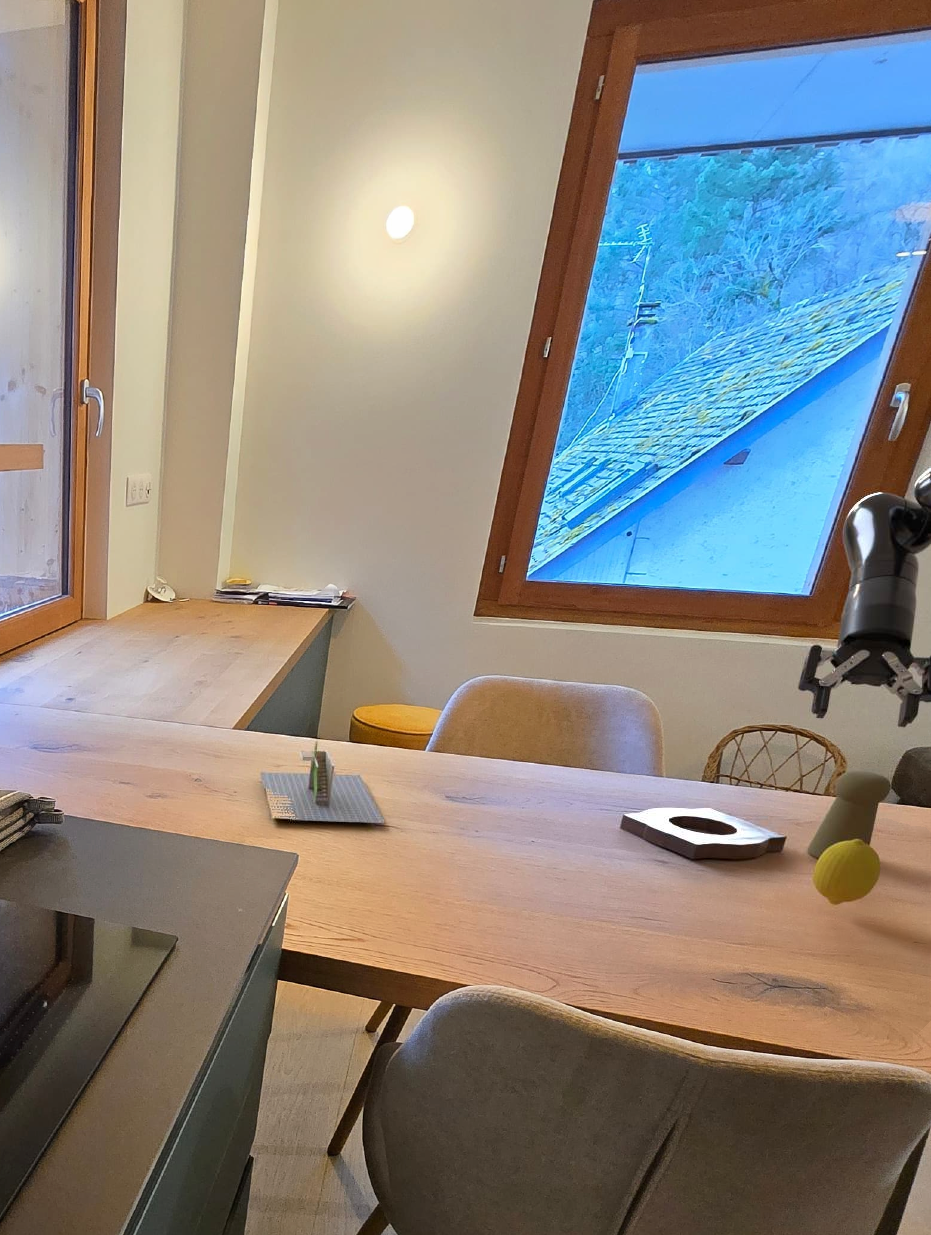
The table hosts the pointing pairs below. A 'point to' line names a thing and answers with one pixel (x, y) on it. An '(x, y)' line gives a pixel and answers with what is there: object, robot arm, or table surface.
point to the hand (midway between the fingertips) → (862, 719)
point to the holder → (728, 843)
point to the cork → (851, 810)
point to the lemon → (846, 871)
